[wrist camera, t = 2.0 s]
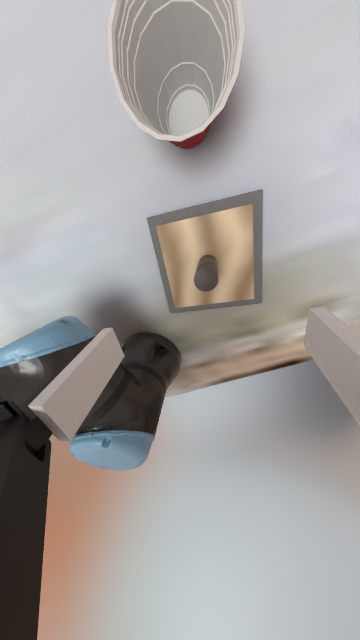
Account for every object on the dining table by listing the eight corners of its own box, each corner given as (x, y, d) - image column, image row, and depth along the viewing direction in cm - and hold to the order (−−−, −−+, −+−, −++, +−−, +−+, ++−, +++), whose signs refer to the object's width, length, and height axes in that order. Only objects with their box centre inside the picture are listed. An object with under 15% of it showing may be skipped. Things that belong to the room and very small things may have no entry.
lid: (176, 306, 38) (165, 332, 29) (157, 225, 31) (136, 229, 22) (253, 296, 34) (266, 323, 26) (251, 203, 27) (269, 198, 19)
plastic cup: (250, 104, 23) (280, 12, 13) (194, 188, 28) (183, 171, 18) (183, 23, 21) (154, -167, 10) (135, 130, 26) (84, 74, 16)
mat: (171, 311, 39) (170, 313, 39) (147, 217, 31) (146, 217, 30) (260, 301, 35) (261, 302, 35) (261, 189, 27) (262, 189, 26)
